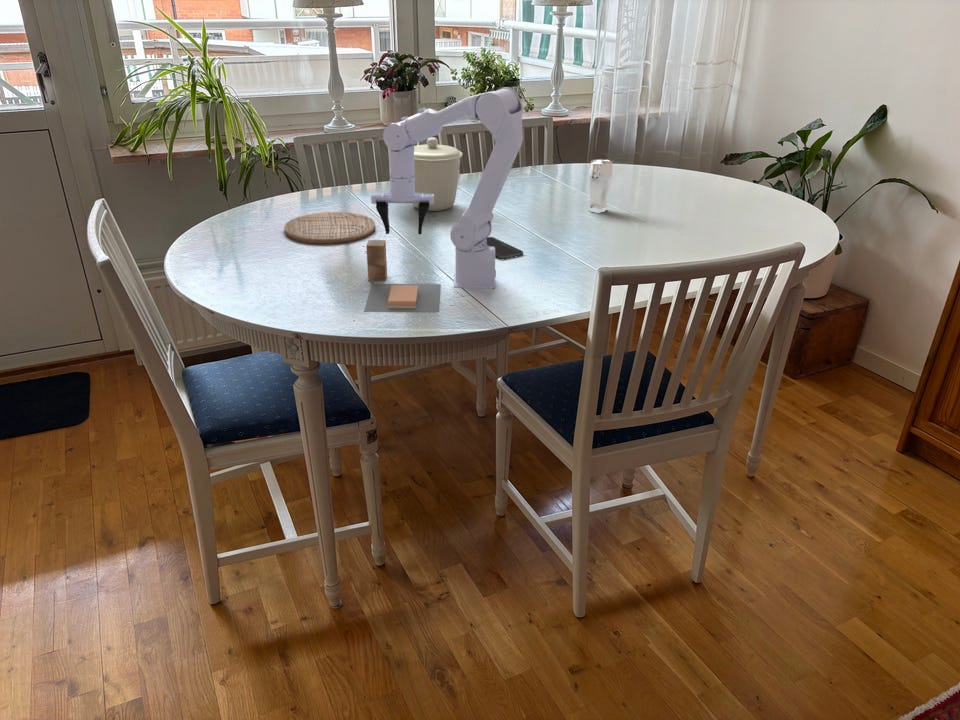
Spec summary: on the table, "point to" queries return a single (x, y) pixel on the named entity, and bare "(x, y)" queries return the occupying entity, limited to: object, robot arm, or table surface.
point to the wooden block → (376, 260)
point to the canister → (436, 173)
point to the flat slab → (403, 296)
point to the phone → (503, 248)
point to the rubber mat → (425, 303)
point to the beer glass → (599, 182)
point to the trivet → (329, 228)
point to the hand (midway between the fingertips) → (403, 232)
